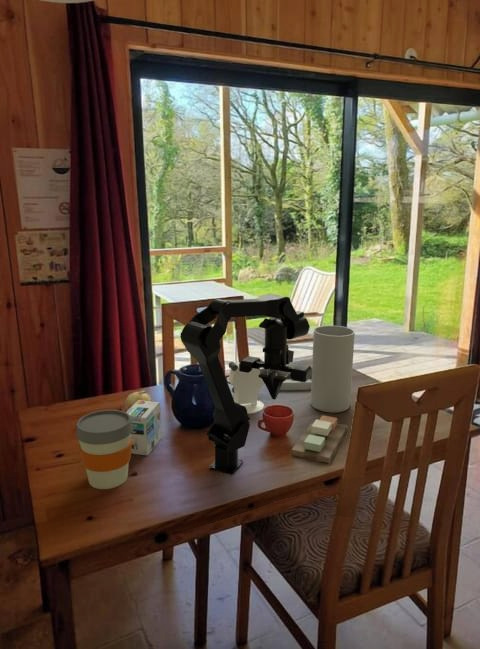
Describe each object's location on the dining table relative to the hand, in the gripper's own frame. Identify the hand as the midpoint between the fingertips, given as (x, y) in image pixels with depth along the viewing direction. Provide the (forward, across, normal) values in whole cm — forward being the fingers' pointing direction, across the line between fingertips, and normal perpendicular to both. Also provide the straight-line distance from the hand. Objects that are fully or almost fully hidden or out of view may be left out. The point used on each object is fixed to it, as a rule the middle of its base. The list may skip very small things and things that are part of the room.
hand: (274, 398), depth 130 cm
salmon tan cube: (+13, -11, -13) cm, 21 cm away
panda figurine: (+13, +17, -19) cm, 28 cm away
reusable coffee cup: (+13, +29, +33) cm, 46 cm away
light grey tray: (+14, +9, -47) cm, 50 cm away
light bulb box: (+13, +31, +16) cm, 38 cm away
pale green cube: (+13, -12, 0) cm, 17 cm away
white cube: (+11, -11, -6) cm, 17 cm away
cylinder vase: (+13, -7, -31) cm, 35 cm away
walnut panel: (+13, -12, -6) cm, 18 cm away
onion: (+13, +45, 0) cm, 47 cm away
